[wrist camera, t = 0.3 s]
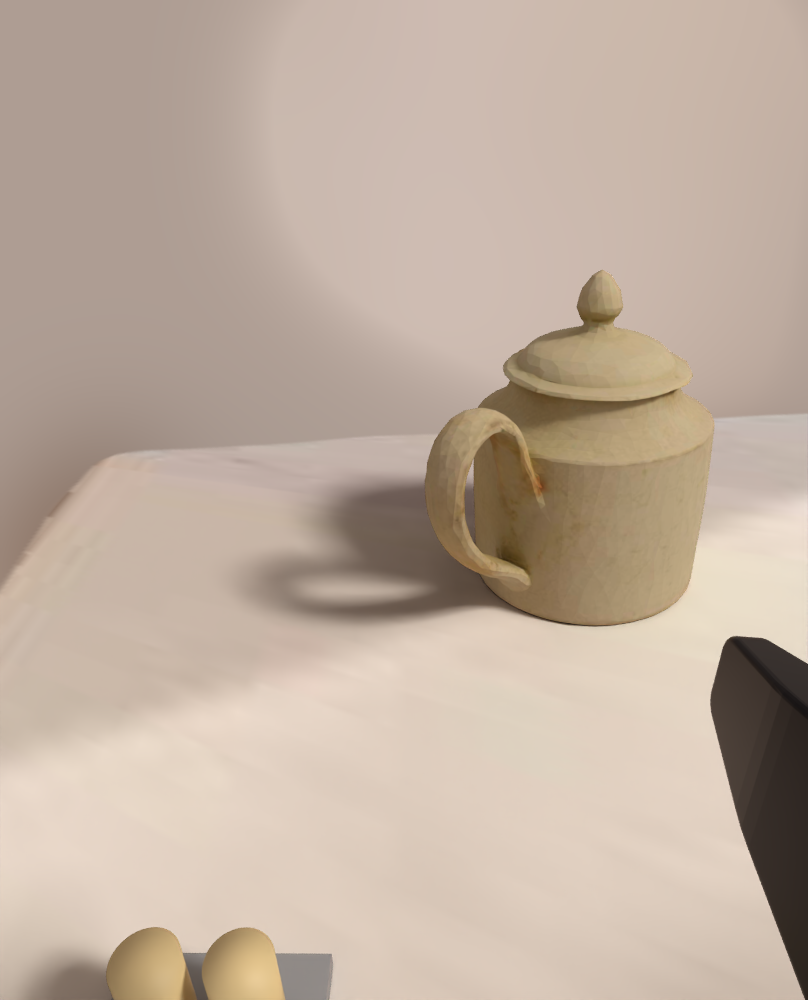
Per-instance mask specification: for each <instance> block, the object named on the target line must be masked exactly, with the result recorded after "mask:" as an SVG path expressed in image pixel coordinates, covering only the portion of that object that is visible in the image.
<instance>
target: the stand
mask: <svg viewBox="0 0 808 1000" xmlns="http://www.w3.org/2000/svg"><path fill="white" fill-rule="evenodd" d="M332 969H333V960H332V954H275V950H274V947H273V944H272V942H271V940H270V939H269V937H268V936H267V935H266V934H264V933H263V932H261V931H260V930H257V929H254V928H238V929H235V930H232V931H230V932H227V933H226V934H224V935H222V936H221V937H220V938H219V939H217V940H216V941H215V942H214V943H213V945H212V946H211V947H210V948H209V950H208V952H207V953H182V950H181V947H180V944H179V941H178V939H177V937H176V936H175V935H174V934H173V933H172V932H170V931H169V930H167V929H164V928H158V927H152V928H146V929H143V930H140V931H137V932H135V933H134V934H132V935H130V936H129V937H127V938H126V939H125V940H124V941H123V942H122V943H121V944H120V945H119V946H118V947H117V948H116V950H115V951H114V952H113V954H112V956H111V958H110V960H109V963H108V966H107V971H106V979H107V984H108V987H109V989H110V991H111V994H112V996H113V997H112V1000H329V996H330V987H331V978H332Z"/></svg>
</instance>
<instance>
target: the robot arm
mask: <svg viewBox="0 0 808 1000" xmlns="http://www.w3.org/2000/svg"><path fill="white" fill-rule="evenodd" d="M710 705H711V713H712V717H713V721H714V725H715V729H716V733H717V737H718V741H719V745H720V749H721V753H722V757H723V761H724V765H725V769H726V773H727V777H728V781H729V785H730V789H731V793H732V797H733V801H734V805H735V809H736V812H737V816H738V820H739V823H740V827H741V830H742V833H743V836H744V838H745V841H746V844H747V847H748V850H749V852H750V855H751V858H752V860H753V863H754V866H755V868H756V871H757V874H758V876H759V879H760V882H761V884H762V887H763V890H764V892H765V895H766V897H767V900H768V903H769V905H770V908H771V911H772V913H773V916H774V919H775V921H776V924H777V927H778V929H779V932H780V935H781V937H782V940H783V942H784V945H785V948H786V950H787V953H788V956H789V958H790V961H791V964H792V966H793V969H794V972H795V974H796V977H797V980H798V982H799V985H800V988H801V990H802V993H803V995H804V998H805V1000H808V664H807V663H805V662H804V661H802V660H800V659H799V658H797V657H795V656H794V655H792V654H790V653H789V652H787V651H785V650H784V649H782V648H780V647H778V646H777V645H775V644H773V643H772V642H770V641H768V640H766V639H763V638H754V637H740V636H733V637H731V638H729V639H728V640H727V641H726V643H725V644H724V646H723V649H722V653H721V657H720V661H719V665H718V669H717V672H716V676H715V680H714V684H713V688H712V692H711V699H710Z"/></svg>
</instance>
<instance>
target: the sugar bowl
mask: <svg viewBox="0 0 808 1000" xmlns="http://www.w3.org/2000/svg"><path fill="white" fill-rule="evenodd" d="M622 308H623V303H622V297H621V290H620V288H619V287H618V285H617V284H616V282H615V280H614V278H613V277H612V275H610V274H609V273H607V272H605V271H604V270H601V271H599V272H597V273H595V274H594V275H592V277H591V278H590V279H589V281H588V282H587V283H586V284H585V286H584V287H583V288H582V290H581V293H580V296H579V300H578V304H577V309H578V312H579V315H580V317H581V319H582V320H583V322H584V325H583V326H579V327H573V328H567V329H562V330H558V331H553V332H550V333H548V334H545V335H543V336H540V337H538V338H537V339H535V340H534V341H532V342H531V343H530V344H529V345H528V346H527V347H526V348H525V349H522V350H520V351H519V352H518V353H515V354H513V355H512V356H511V357H510V358H509V359H508V360H507V361H506V362H505V364H504V365H503V370H504V373H505V375H506V376H507V377H508V378H509V380H510V382H509V384H508V385H507V387H504V388H502V389H500V390H497V391H496V392H494V393H492V394H491V395H490V396H488V397H487V398H485V399H484V400H483V401H482V403H481V404H480V405H479V407H478V408H476V409H470V410H465V411H463V412H461V413H460V414H458V415H456V416H455V417H453V418H451V419H450V420H449V422H448V423H447V424H446V426H445V427H444V428H443V429H442V430H441V432H440V433H439V435H438V436H437V438H436V439H435V441H434V444H433V446H432V449H431V452H430V455H429V459H428V462H427V473H426V478H425V498H426V506H427V511H428V515H429V518H430V521H431V524H432V527H433V529H434V531H435V533H436V536H437V538H438V539H439V541H440V542H441V544H442V545H443V547H444V548H445V549H446V551H447V552H448V553H449V554H450V555H451V556H452V557H453V558H455V559H456V560H457V561H458V562H459V563H461V564H462V565H463V566H465V567H467V568H469V569H471V570H473V571H475V572H477V573H479V574H480V575H481V577H482V579H483V580H484V582H485V584H486V585H487V586H488V587H489V588H490V589H491V590H492V591H493V592H494V593H495V594H496V595H497V596H499V597H500V598H501V599H503V600H504V601H506V602H507V603H509V604H511V605H512V606H514V607H516V608H518V609H520V610H523V611H525V612H528V613H530V614H533V615H536V616H539V617H542V618H545V619H549V620H554V621H558V622H565V623H572V624H580V625H616V624H622V623H629V622H633V621H637V620H641V619H644V618H648V617H651V616H653V615H656V614H658V613H660V612H662V611H664V610H666V609H667V608H668V607H670V606H671V605H673V604H674V603H675V602H677V601H678V599H679V598H680V597H681V596H682V595H683V593H684V592H685V591H686V589H687V587H688V584H689V581H690V578H691V573H692V568H693V562H694V556H695V551H696V545H697V540H698V535H699V530H700V524H701V519H702V514H703V508H704V502H705V496H706V490H707V483H708V475H709V467H710V459H711V451H712V442H713V433H714V420H713V418H712V416H711V413H710V412H709V411H708V410H707V409H706V408H705V407H704V406H703V405H702V404H701V403H699V402H698V401H697V400H695V399H694V398H692V397H689V396H688V395H686V394H684V393H683V392H682V390H681V387H684V386H686V385H687V384H688V383H689V382H690V379H691V378H692V377H693V374H692V372H691V370H690V368H689V366H688V363H687V361H685V360H684V359H682V358H680V357H679V356H677V355H675V354H673V353H671V352H670V351H669V350H668V349H667V348H666V347H665V346H664V345H663V344H661V343H660V342H659V341H657V340H655V339H654V338H652V337H650V336H647V335H644V334H642V333H639V332H636V331H631V330H627V329H621V328H617V327H614V325H613V321H614V319H615V318H616V317H617V316H618V315H619V314H620V312H621V310H622ZM473 459H474V507H475V541H476V545H475V544H474V542H473V541H472V538H471V536H470V533H469V530H468V527H467V524H466V521H465V505H464V497H465V485H466V479H467V475H468V472H469V469H470V466H471V464H472V461H473Z"/></svg>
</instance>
